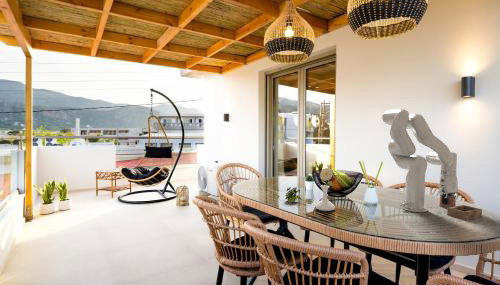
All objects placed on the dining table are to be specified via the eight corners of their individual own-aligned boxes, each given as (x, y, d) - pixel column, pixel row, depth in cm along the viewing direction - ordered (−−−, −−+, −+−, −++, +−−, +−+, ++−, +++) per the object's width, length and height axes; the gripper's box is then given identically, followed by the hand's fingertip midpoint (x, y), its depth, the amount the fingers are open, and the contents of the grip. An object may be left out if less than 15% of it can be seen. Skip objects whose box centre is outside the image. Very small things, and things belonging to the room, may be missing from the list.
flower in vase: (311, 208, 167) (311, 166, 165) (327, 206, 170) (327, 165, 169) (323, 214, 154) (324, 169, 153) (341, 212, 158) (341, 168, 157)
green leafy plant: (288, 208, 185) (289, 191, 191) (304, 207, 180) (305, 190, 186) (281, 202, 177) (283, 184, 184) (297, 200, 172) (298, 183, 178)
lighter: (438, 206, 168) (439, 190, 167) (440, 205, 170) (440, 189, 169) (455, 209, 162) (455, 192, 161) (456, 208, 164) (456, 191, 164)
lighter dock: (465, 220, 143) (465, 212, 143) (447, 215, 152) (447, 207, 151) (481, 216, 148) (481, 209, 148) (463, 212, 157) (463, 205, 156)
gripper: (445, 175, 158) (444, 207, 159) (464, 173, 165) (463, 203, 165) (432, 173, 165) (431, 203, 166) (451, 171, 172) (450, 200, 172)
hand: (447, 203), depth 166 cm, fingers closed on lighter, 4 cm apart
